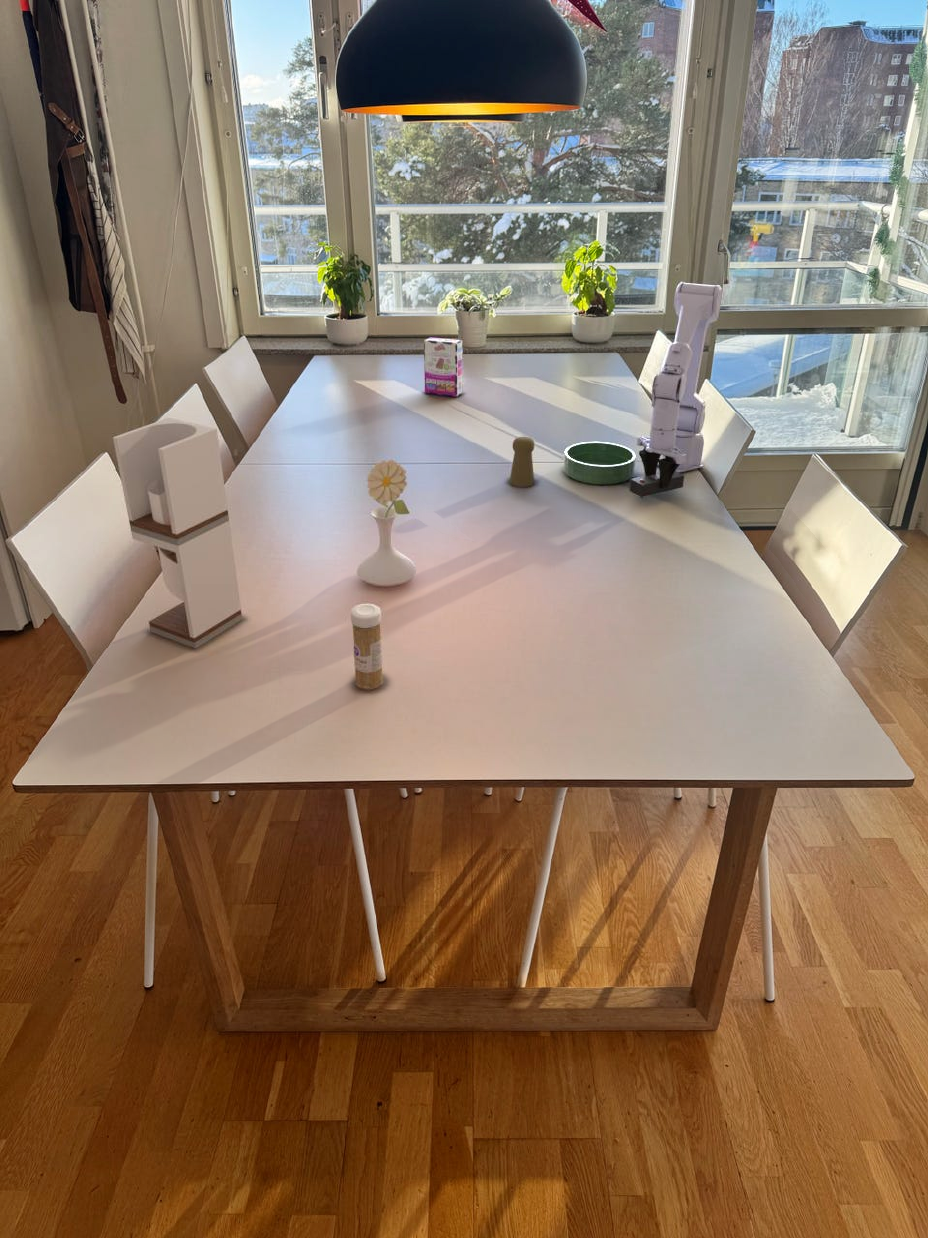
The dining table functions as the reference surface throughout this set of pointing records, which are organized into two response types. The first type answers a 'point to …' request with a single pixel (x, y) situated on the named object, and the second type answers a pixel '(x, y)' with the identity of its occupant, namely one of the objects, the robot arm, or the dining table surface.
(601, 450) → the bowl
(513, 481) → the cork
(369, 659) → the sprinkles bottle
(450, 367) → the candy bar box
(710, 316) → the robot arm
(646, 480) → the remote
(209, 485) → the white tiered shelf stand
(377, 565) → the flower in vase
